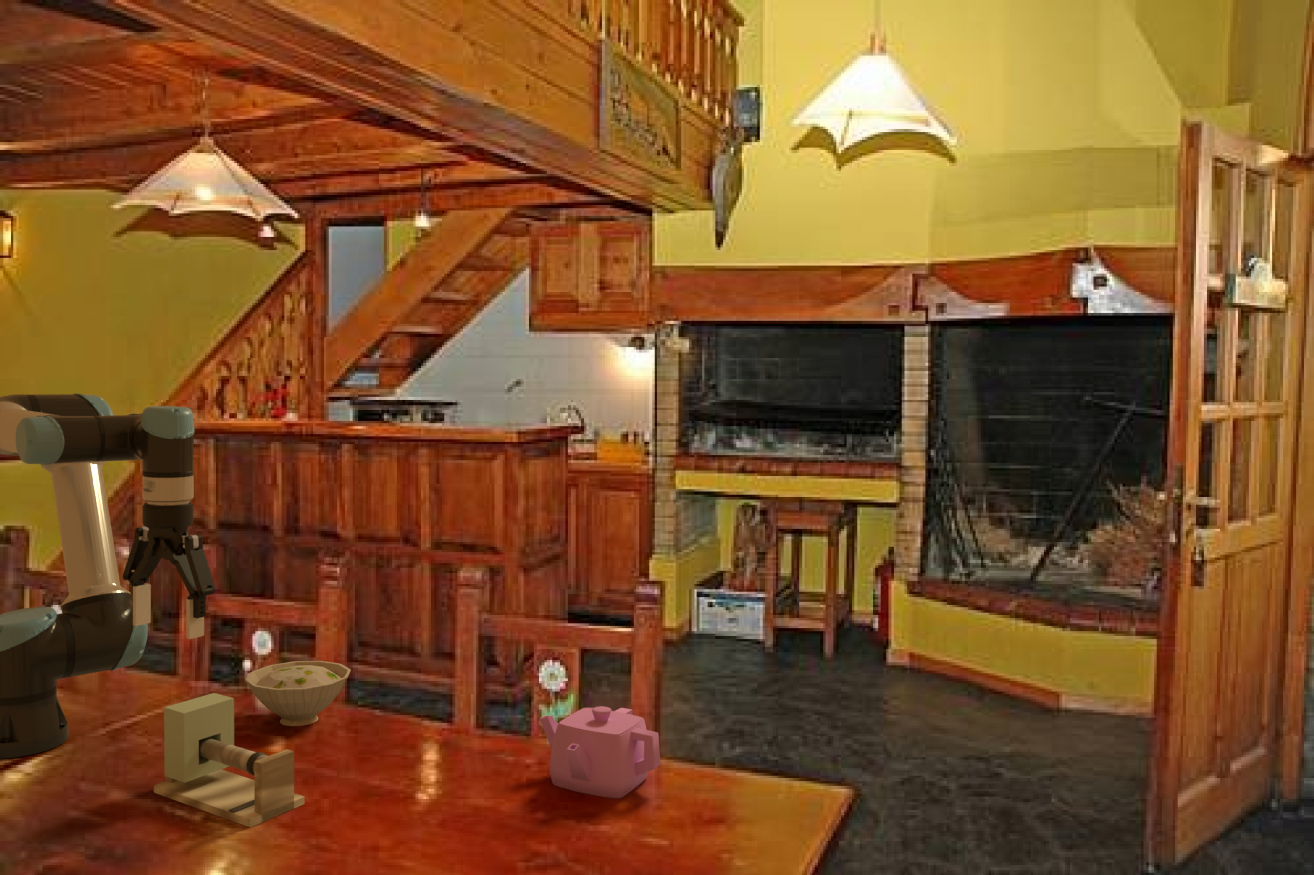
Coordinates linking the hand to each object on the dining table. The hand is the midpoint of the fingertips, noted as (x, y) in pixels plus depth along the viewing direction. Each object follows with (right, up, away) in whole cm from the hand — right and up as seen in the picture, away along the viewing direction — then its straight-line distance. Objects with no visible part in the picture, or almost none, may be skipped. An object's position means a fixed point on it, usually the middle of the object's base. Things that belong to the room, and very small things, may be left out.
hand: (168, 630), depth 171 cm
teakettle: (+70, -26, +4) cm, 75 cm away
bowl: (+11, -23, +30) cm, 39 cm away
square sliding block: (+7, -22, -3) cm, 23 cm away
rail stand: (+13, -25, -7) cm, 29 cm away
